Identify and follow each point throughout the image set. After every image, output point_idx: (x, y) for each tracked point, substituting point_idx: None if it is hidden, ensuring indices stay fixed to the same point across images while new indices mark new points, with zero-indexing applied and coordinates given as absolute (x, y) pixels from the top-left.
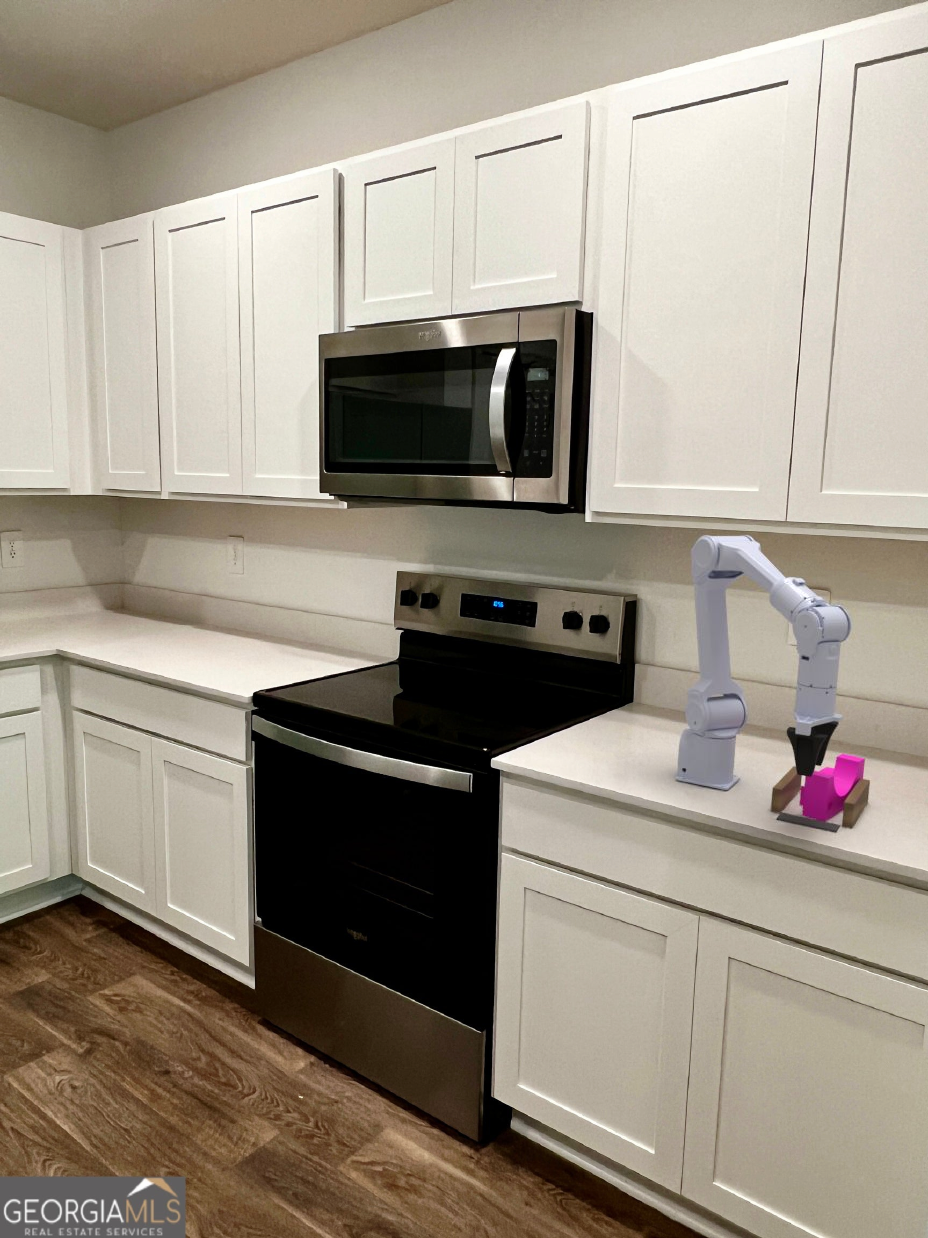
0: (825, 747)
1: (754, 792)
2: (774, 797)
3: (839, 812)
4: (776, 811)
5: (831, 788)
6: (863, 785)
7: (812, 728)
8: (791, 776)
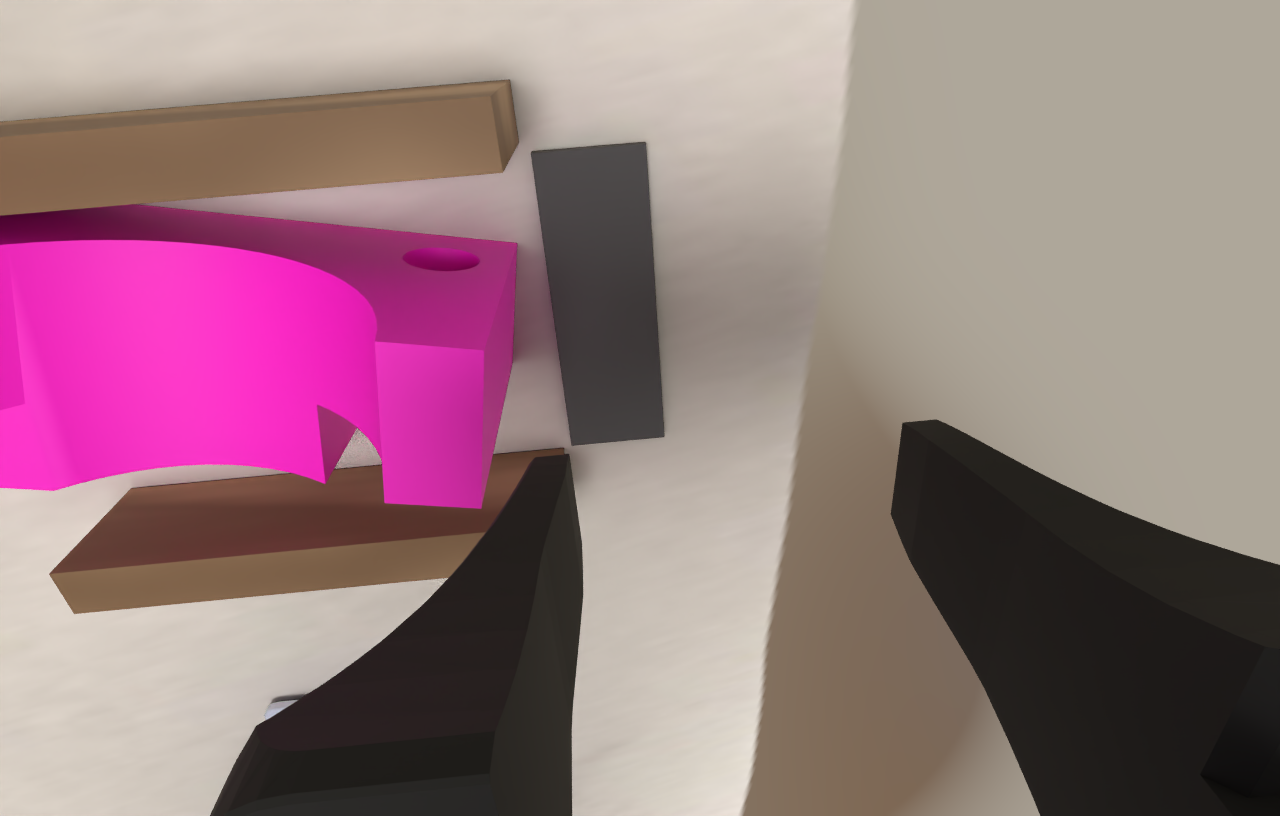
0: (546, 553)
1: (375, 610)
2: None
3: (298, 222)
4: None
5: (425, 305)
6: None
7: None
8: (277, 564)
